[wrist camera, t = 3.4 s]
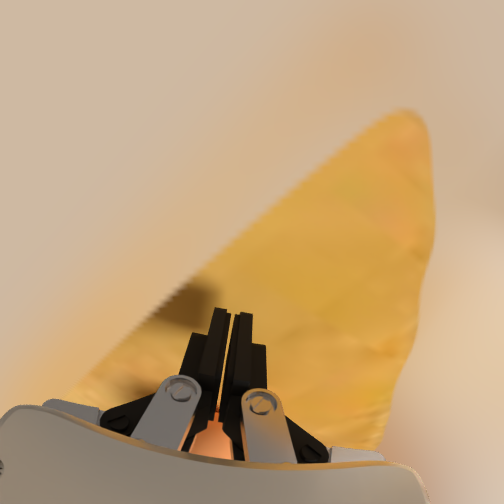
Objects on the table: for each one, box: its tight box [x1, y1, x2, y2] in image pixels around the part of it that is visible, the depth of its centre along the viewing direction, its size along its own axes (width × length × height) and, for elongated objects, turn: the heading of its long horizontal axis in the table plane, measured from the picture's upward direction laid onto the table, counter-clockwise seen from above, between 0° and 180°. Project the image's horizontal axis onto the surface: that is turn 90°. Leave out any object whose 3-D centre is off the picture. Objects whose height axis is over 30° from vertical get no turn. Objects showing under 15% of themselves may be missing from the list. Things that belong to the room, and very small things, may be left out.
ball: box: [191, 412, 231, 460], centre depth 14 cm, size 6×6×6 cm
